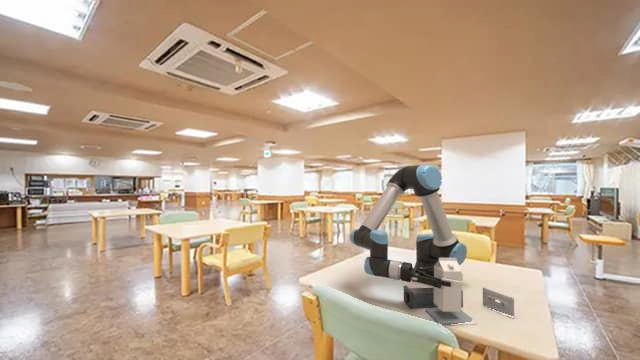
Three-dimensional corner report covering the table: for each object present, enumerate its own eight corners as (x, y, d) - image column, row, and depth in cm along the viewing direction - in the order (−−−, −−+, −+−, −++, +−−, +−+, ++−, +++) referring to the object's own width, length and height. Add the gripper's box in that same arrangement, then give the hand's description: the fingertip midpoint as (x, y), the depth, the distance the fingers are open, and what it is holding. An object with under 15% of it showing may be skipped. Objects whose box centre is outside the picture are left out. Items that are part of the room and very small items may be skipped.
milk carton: (433, 303, 106) (434, 255, 106) (450, 303, 106) (451, 255, 107) (442, 312, 99) (443, 260, 99) (461, 311, 99) (462, 260, 100)
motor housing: (453, 300, 118) (452, 284, 118) (462, 307, 111) (462, 290, 111) (402, 301, 116) (402, 285, 116) (409, 309, 109) (409, 292, 109)
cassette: (481, 306, 112) (481, 287, 112) (484, 305, 113) (484, 286, 113) (512, 319, 101) (512, 298, 102) (515, 318, 102) (515, 297, 102)
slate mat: (458, 309, 108) (458, 307, 108) (476, 324, 98) (476, 321, 98) (425, 311, 107) (425, 309, 107) (439, 325, 96) (439, 323, 96)
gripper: (407, 272, 121) (463, 282, 110) (394, 288, 102) (460, 302, 91) (407, 255, 121) (463, 263, 110) (394, 269, 102) (460, 280, 91)
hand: (462, 281), depth 100 cm, fingers closed on milk carton, 10 cm apart
